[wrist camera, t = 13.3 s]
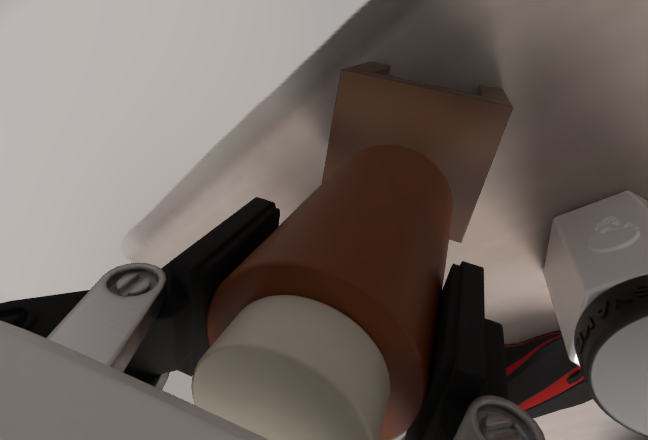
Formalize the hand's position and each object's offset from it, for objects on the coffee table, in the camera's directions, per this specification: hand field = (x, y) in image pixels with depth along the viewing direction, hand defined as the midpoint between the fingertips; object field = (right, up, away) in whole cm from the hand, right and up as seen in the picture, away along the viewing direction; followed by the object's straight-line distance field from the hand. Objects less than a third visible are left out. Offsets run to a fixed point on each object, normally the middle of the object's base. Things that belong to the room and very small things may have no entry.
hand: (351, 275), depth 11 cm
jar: (+19, 0, +16) cm, 25 cm away
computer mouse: (+16, -11, +22) cm, 29 cm away
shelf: (+6, +8, +17) cm, 20 cm away
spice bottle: (+2, +2, +5) cm, 5 cm away
